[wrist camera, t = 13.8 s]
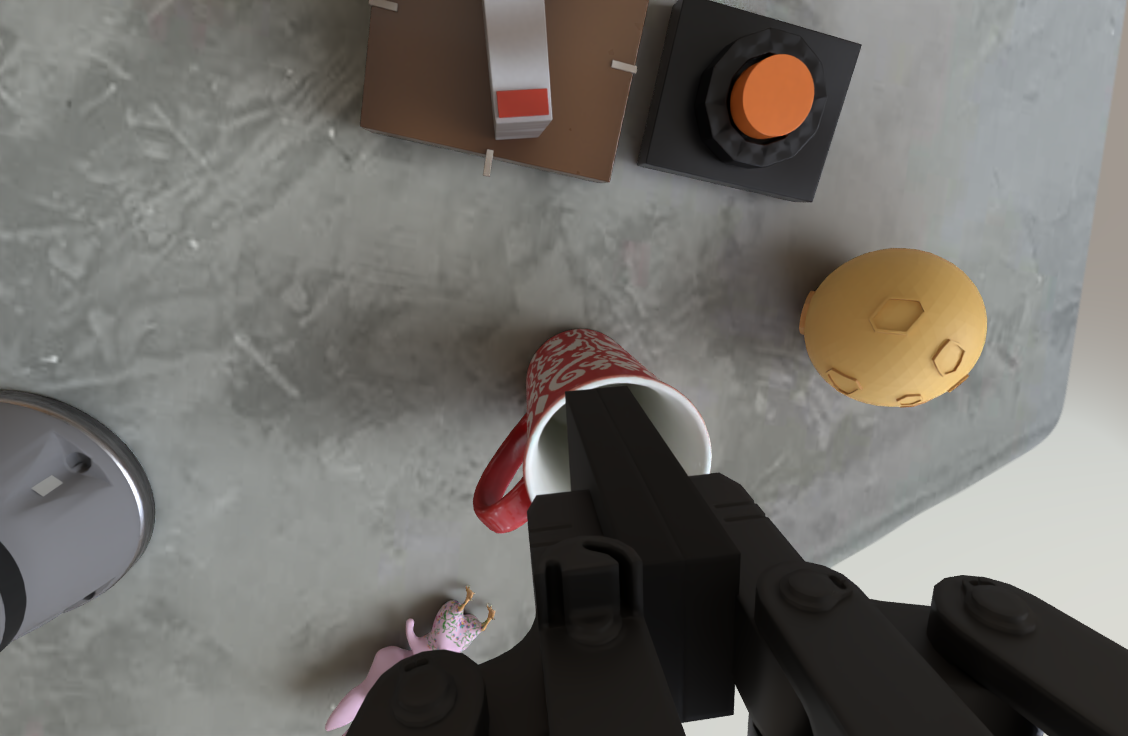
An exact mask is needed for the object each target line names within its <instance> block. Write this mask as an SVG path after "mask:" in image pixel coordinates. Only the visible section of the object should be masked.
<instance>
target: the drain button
mask: <svg viewBox="0 0 1128 736" xmlns="http://www.w3.org/2000/svg"><path fill="white" fill-rule="evenodd" d="M813 99H814V83H813V79H812V76H811V73H810V71H809V70H808V68H807V67H806V65H805V64H804V63H803V62H802V61H800V60H799V59H798V58H796V57H794V56H791V55H787V54H776V55H772V56H770V57H767V58H765V59H763V60H761V61H759V62H757V63H755V64H753V65H751V66H749V67H748V68H747V69H745V70H744V71H743V72H742V73H741V75H740V76H739V77H738V79H737V80H736V82H735V84H734V86H733V89H732V92H731V97H730V110H731V115H732V118H733V121H734V123H735V124H736V126H737V127H738V129H739V130H740V131H741V132H742V133H744V134H745V135H747V136H749V137H751V138H755V139H767V138H772V137H778V136H782V135H786V134H788V133H790V132H792V131H794V130H795V129H796V128H798V127H799V126H800V125H801V124H802V122H803V121H804V120H805V119H806V117H807V115H808V114H809V112H810V109H811V107H812V103H813Z"/></svg>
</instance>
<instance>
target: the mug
mask: <svg viewBox="0 0 1128 736" xmlns="http://www.w3.org/2000/svg"><path fill="white" fill-rule="evenodd" d="M626 385H627V386H628V388H629V389H630V391H631V392H632V394H633V395H634V397H635V398H636V400H637V401H638V403H639V404H640V405H641V407H642V408H643V410H644V411H645V413H646V414H647V416H648V417H649V419H650V420H651V422H652V423H653V425H654V426H655V428H656V429H657V431H658V432H659V433H660V435H661V436H662V438H663V439H664V441H665V442H666V444H667V445H668V447H669V448H670V450H671V451H672V453H673V454H674V456H675V457H676V459H677V460H678V461H679V463H680V464H681V466H682V467H683V469H684V470H685V472H686V473H687V475H688V476H693V475H702V474H710V468H711V456H712V453H711V443H710V438H709V433H708V430H707V428H706V425H705V422H704V420H703V418H702V416H701V415H700V413H699V412H698V410H697V409H696V408H695V406H694V405H693V404H692V403H691V401H690V400H689V399H688V398H686V397H685V396H684V395H683V394H682V393H680V392H679V391H678V390H676V389H675V388H673V387H671V386H670V385H668V384H666V383H664V382H662V381H660V380H659V379H658V378H657V377H656V376H654V374H652V373H651V372H650V371H648V370H647V369H646V368H645V367H644V366H642V365H641V364H640V363H639V362H638V361H637V360H636V359H635V358H633V357H632V356H631V355H630V354H629V353H628V352H627V351H625V350H624V349H623V348H622V347H621V346H620V345H619V344H617V343H616V342H615V341H614V340H612V339H611V338H609V337H608V336H606V335H604V334H602V333H600V332H597V331H593V330H589V329H574V330H568V331H564V332H562V333H559V334H557V335H555V336H553V337H551V338H550V339H549V340H547V341H546V342H545V343H544V344H543V345H542V346H541V347H540V348H539V349H538V350H537V352H536V353H535V355H534V356H533V358H532V360H531V362H530V365H529V367H528V372H527V378H526V392H527V412H526V414H525V415H524V416H523V417H522V419H521V420H520V422H519V423H518V424H517V425H516V426H515V427H514V429H513V430H512V431H511V432H510V434H509V435H508V437H507V438H506V439H505V441H504V442H503V443H502V445H501V446H500V448H499V449H498V450H497V452H496V453H495V455H494V456H493V458H492V459H491V461H490V462H489V464H488V466H487V467H486V469H485V470H484V472H483V474H482V476H481V478H480V480H479V482H478V484H477V487H476V489H475V493H474V498H473V507H474V511H475V514H476V515H477V517H478V518H479V519H480V520H481V521H482V522H483V523H484V524H485V525H486V526H487V527H488V528H489V529H490V530H492V531H494V532H496V533H506V532H510V531H513V530H515V529H517V528H518V527H520V526H522V525H523V524H524V523H525V522H527V521H528V520H527V510H528V508H529V507H530V505H531V503H532V502H533V500H534V498H535V497H536V495H542V494H551V493H559V492H568V491H571V483H570V467H569V451H568V435H567V419H566V402H565V391H574V390H585V389H595V388H606V387H616V386H626ZM522 462H523V477H522V479H521V480H520V481H519V482H518V483H517V484H516V485H515V487H514V488H513V489H512V490H511V491H510V492H509V493H508V494H506V495H505V496H504V497H503V498H502V496H503V495H504V493H505V491H506V489H507V487H508V485H509V483H510V482H511V480H512V479H513V477H514V475H515V473H516V472H517V470H518V468H519V467H520V465H521V464H522Z"/></svg>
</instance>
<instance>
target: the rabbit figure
mask: <svg viewBox="0 0 1128 736" xmlns="http://www.w3.org/2000/svg"><path fill="white" fill-rule="evenodd" d="M467 586H468V585H467ZM467 586H466V591H467V597H466V600H465V602H464V603H463V604H462V605H461V604H460V603H459V602H458V601H454V600H451V601H448V602H446V603H445V604H444V605H443V606H442V607H441V609H440V610H439V612H438V613H437V615H436V618H435V621H434V624H433V628H432V631H431V632H430V633H428V634H426V635H424V636H422V637H417V636H416V635H415V633H414V631H413V626H414V620H413V619H411V618H409V619H408V620H407V621H406V636H407V640H408V643H409V646H410V647H411V649H412V650H408V651H407V650H406V649H401V648H399V647H396V646H388V647H385V648H382V649H380V650H379V651H378V652H377V653H376V655H375V658H374V661H373V663H372V665H371V668H370V671H369V673H368V675H367V677H366V679H365V680H364V681H363V682H362V683H361V684H359V685H358V686H356V687H355V688H353V689H352V690H351V691H350V692H349V693H348V694H347V695H346V696H345V697H344V698H343V699H342V700H341V702H340V703H339V704H338V706H337V707H336V708H335V710H334V711H333V712H332V714H331V715H330V717H329V719H328V721H327V723H326V726H325V729H326V731H330V730H333V729H336V728H339V727H341V726H344V725H346V724H348V723H349V722H351V721H352V720H353V719H354V718H355V716H356V714H357V712H358V710H359V708H360V706H361V705H362V703H363V701H364V699H365V697H366V695H367V693H368V692H369V690H370V689H371V688H372V686H373V685H374V684H375V682H376V681H377V680H378V678H379V677H380V676H381V674H383V673H384V672H385V671H387V670H388V669H389V668H391V667H392V666H393V665H395V664H396V663H398V662H399V661H400V660H402V659H405V658H407V657H410V656H412V655H415V654H417V653H420V652H422V651H431V650H441V649H446V650H450V651H454V652H461V651H463V650H465V649H466V648H467V647H468V646H469V645H470V643H471V642H472V641H473V640H474V638H475V637H476V636H477V635H478V634H479V633H480V632H481V631H484V630H485V629H486V626H487V624H488V623H489V622H490V620H491V619H492V620H494V618H493V617H494V614H495V611H496V610H493V609H491V607H492V605H491V606H490V607H488V604H487V608H488V610H489V614H488V618H487V620H486V621H485V622H483V623H481V622H479V620H478V619H477V617H476V616H474V615H472V614H467V615H463V608H464V606H465V605H466V604H467V603H468V601H469V600H471V601H472V599H471V598H472V597H473V594H475V593H476V592H475V593H473V592H472V591H471V590H470V589H469V588H470V585H469V587H468V588H467ZM347 731H348V730H347ZM347 731H346V732H345V733H344V734H343V735H342V736H345V735H346V733H347Z"/></svg>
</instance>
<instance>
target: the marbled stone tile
mask: <svg viewBox="0 0 1128 736" xmlns="http://www.w3.org/2000/svg"><path fill="white" fill-rule="evenodd" d="M482 9H483V19H484V29H485V39H486V49H487V59H488V69H489V80H490V90H491V100H492V110H493V120H494V130H495V139H496V140H504V139H520V138H536V137H539V136H540V134H541V133H542V132H543V131H544V129H545V128H546V127H547V126H548V125H549V123H550V122H551V121H552V106H551V91H550V76H549V62H548V47H547V33H546V18H545V4H544V0H482Z"/></svg>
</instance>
